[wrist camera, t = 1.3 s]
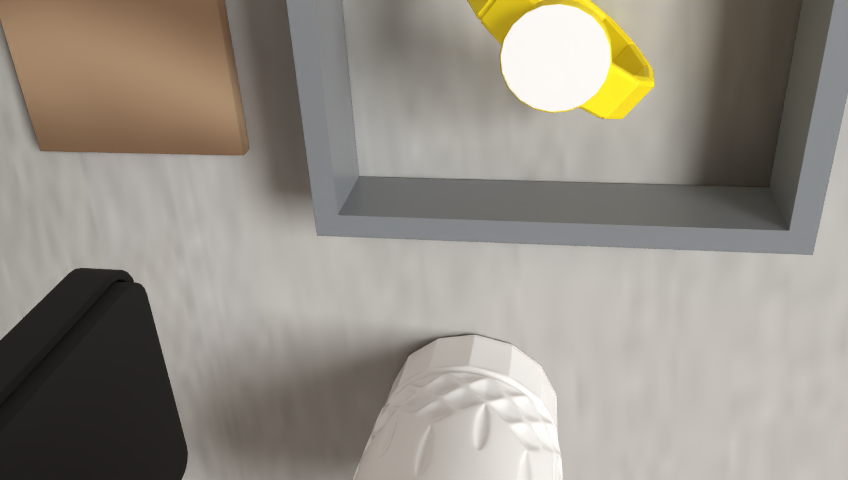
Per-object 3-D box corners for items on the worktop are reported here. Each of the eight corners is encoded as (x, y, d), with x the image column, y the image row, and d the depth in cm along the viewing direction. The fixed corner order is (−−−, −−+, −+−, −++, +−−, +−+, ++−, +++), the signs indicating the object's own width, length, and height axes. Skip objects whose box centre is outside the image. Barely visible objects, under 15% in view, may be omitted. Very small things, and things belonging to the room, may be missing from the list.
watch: (463, -19, 25) (422, 21, 20) (520, -94, 24) (491, -71, 19) (607, 102, 26) (601, 170, 21) (669, 36, 25) (680, 92, 20)
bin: (790, 209, 27) (812, 254, 24) (339, 195, 30) (316, 235, 27) (883, -270, 20) (927, -277, 18) (291, -233, 23) (255, -234, 20)
